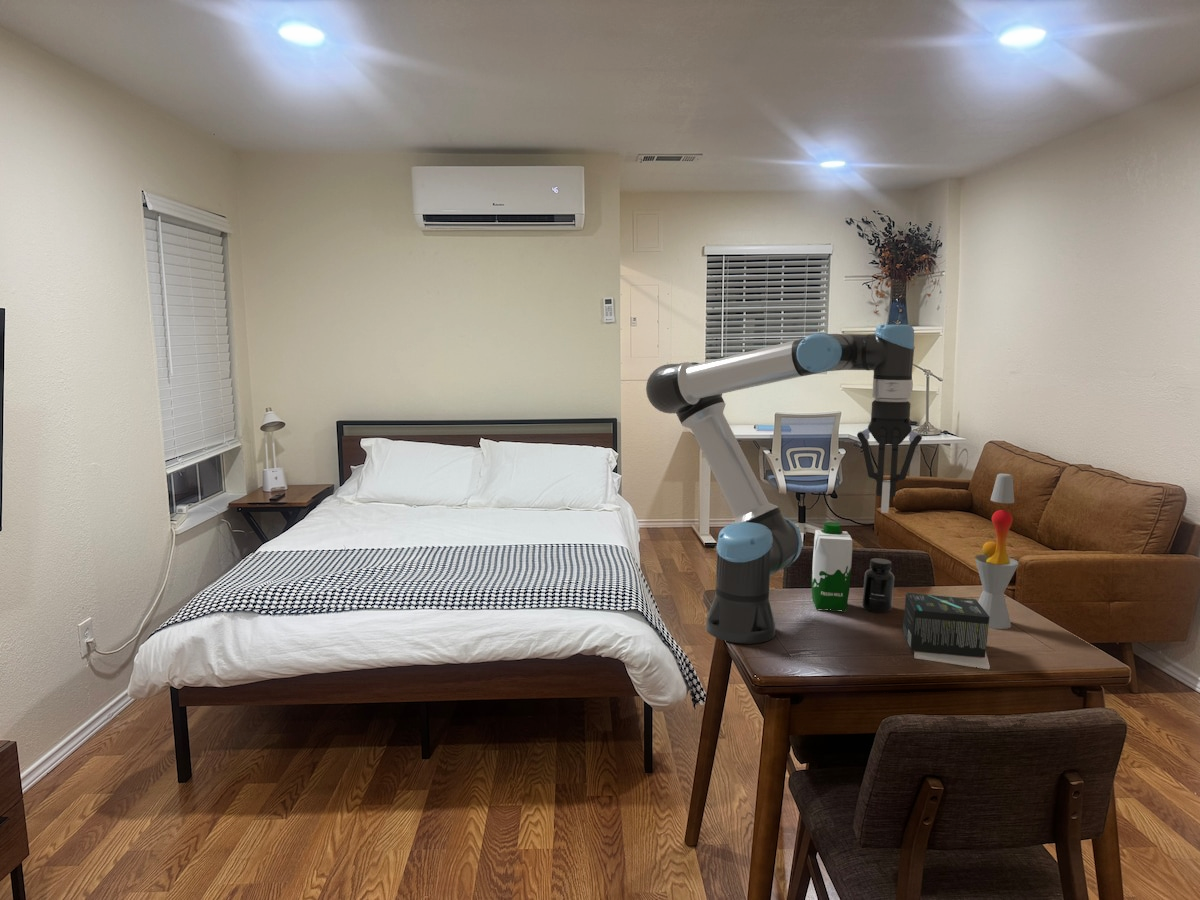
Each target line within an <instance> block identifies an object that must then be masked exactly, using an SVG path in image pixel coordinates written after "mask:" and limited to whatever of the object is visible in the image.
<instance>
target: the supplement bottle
mask: <svg viewBox="0 0 1200 900" xmlns="http://www.w3.org/2000/svg"><path fill="white" fill-rule="evenodd" d="M869 561H870V562H869V569H867V570H866V571H865V572H864V579H863V591H862V601H861V606H862V607H863V609H865V610H866V609H867V611H869V610H870V612H872V611H873V613H877V612H881V613H880V614H885V613H884V612H886V613H889V612H890V611H892V608H893V599H894V597H893V596H894V589H895V588H894V587H895V574H893V572H892V571H891V570H892V561H891V560H889V559H885V558H877V557H875V558H871V559H870V560H869Z"/></svg>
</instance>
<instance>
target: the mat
mask: <svg viewBox="0 0 1200 900" xmlns="http://www.w3.org/2000/svg"><path fill="white" fill-rule="evenodd" d="M987 654H988V653H987V652H986V653H985V657H972V656H962V655H953V654H943V653H932V652H921V651H913V657H914V658H913V659H915V660H917V659H918V660H924V661H931V662H938V663H943V664H950V665H958V666H962V667H963V666H965V667H970V668H976V667H977V668H978V669H982V670H983V669H984V670H989V669H990V668H991V666H990V663H989V661H990V660H989V658H988V655H987ZM977 668H976V669H977Z"/></svg>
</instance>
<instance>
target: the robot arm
mask: <svg viewBox="0 0 1200 900" xmlns="http://www.w3.org/2000/svg"><path fill="white" fill-rule="evenodd" d="M915 348H916V346H915V329H914V327H913V325H912V326H911V325H910V324H878V325H877V326H876V327H875V331H874V333H871V334H857V333H856V334H855V333H854V334H853V333H847V334H846V333H824V332H819V333H813V334H809V335H808V336H806V337H802V338H799V339H796V340H790V341H788V342H787V341H786V342H783V343H779V344H774V345H770V346H766V347H762V348H757V349H753V350H750V351H746V352H742V353H738V354H733V355H729V356H726V357H721V358H717V359H712V360H709V361H705V362H697V361H696V362H695V361H694V362H689V361H685V362H681V363H668V364H667V363H666V364H663V365H660V366H659V367H656V369H654V370H653V371H652V372H651V373H650V375H649V376H648V378H647V381H646V385H645V386H646V387H645V391H646V397H647V399H648V401H649V403H650V404H651V405H652V407H654V408H655V409H656V410H658V411H659V412H662V413H663V414H664V413H665V414H672V415H673V414H676V416H677V418H678V420H679V422H680V424H681V426H682V427H683V428H684V427H685V428H688V429H690V430H691V432H692V434H693V436H694V438H695V440H696V442H697V445H698V446H699V448H700V450H701V451H702V452H701V453H702V454H703V456H704V458H705V460H706V461H707V465H708V466H709V468H710V470H711V472H712V474H713V476H714V478H715V480H716V482H717V483H718V486H719V488H720V490H721V492H722V494H723V495H724V498H725V500H726V502H727V504H728V506H729V508H730V510H731V512H732V514H733V516H734V517H735V518H734V520H735V521H734V523H730V524H729V525H726V526H723V528H722V529H720V531H719V533H718V536H717V538H718V539H717V543H716V569H715V592H714V593H715V595H714V598H713V601H712V603H711V606H710V608H709V611H708V614H707V616H706V619H705V621H706V623H705V630H706V632H707V633H708V634H709V635H710V636H712V637H714V638H716V639H719V640H722V641H725V642H730V643H734V644H746V645H747V644H751V645H752V644H761V643H765V642H768V641H771V640H773V638H774V637H775V635H776V622H775V617H774V614H773V611H772V606H771V602H770V584H771V582H770V581H771V576H773V575H774V574H776V573H778V572H780V571H783V570H785V569H787V568H789V567H790V566H791V565H792V564H793V563H794V562H795V561H796V560H797V559H798V558H799V556H800V554H801V552H802V549H803V548H802V547H803V539H802V538H803V537H802V534H801V531H800V530H799V528H798V526H797V525H796V524H795V523H794V522H793V521H792V520H790V519H788V518H786V517H784V515H783V513H782V511H781V509H780V508H779V506H778V505H776V504H773V503H771V502H769V501H768V499H767V496H766V494H765V493H764V490H763V488H762V486H761V485H760V482H759V480H758V479H757V476H756V474H755V473H754V471H753V469H752V467H751V465H750V463H749V460H748V459H747V457H746V455H745V453H744V452H743V449H742V448H741V445H740V443H739V441H738V439H737V437H736V436H735V434H734V431H733V430H732V428H731V426H730V424H729V422H728V420H727V418H726V416H725V414H724V411H725V407H726V402H725V401H724V398H723V397H722V396H723V394H727V393H731V392H735V391H740V390H744V389H749V388H754V387H755V388H756V387H759V386H764V385H769V384H774V383H777V382H778V383H779V382H781V381H786V380H792V379H796V378H801V377H806V376H811V375H816V374H821V373H825V372H826V373H827V372H835V371H873V376H872V377H873V379H872V393H871V394H872V396H871V397H872V398H873V399H874V400H873V401H872V402H871V412H870V413H871V415H870V421H869V424H868V425H867V428H865V429H864V430H861V431H858V433H857V434H856V436H857V438H858V440H859V442H860V443H861V446H862V447H861V448H862V452H863V456H864V462H865V468H866V471H867V476H868V478H872V479H874V481H876V488H875V489H876V490H875V491H876V492H875V494H876V496H877V497H881V504H880V513H881V514H889V511H890V497H891V498H895V496H896V493H897V492H896V490H897V482H899V481H903V480H906V478H907V474H908V472H909V469H910V466H911V462H912V460H913V456H914V455H915V450H916V447H917V446H918V445H919V443H920V442H921V441H922V439H923V437H922V434H921V433H918V432H916V431H914V430H912V425H911V423H910V419H911V418H910V416H911V402H910V401H908V400H910V399H911V398H912V384H913V368H914V367H913V365H914V355H915V353H914V352H915ZM870 434H871V436H872V437H873V438H874V440H875V442H877V444H878V454H877V455H878V456H877V472H876V471H875V469H874V468H875V467H874V464H873V457H872V453H871V448H870V443H869V439H870ZM908 436H909V438H908V441H909V445H908V449H907V451H906V454H905V457H904V460H903V464H902V466H901V469H900V473H898V459H899V457H898V456H899V445H900V444H901V443H902V442H903V441H904V440H905V439H906V438H907V437H908ZM886 445H890V446H891V456H890V459H891V460H890V475H889V479H886V480H885V479H884V475H885V474H884V472H885V457H886V456H885V454H886Z"/></svg>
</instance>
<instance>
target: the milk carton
mask: <svg viewBox="0 0 1200 900" xmlns="http://www.w3.org/2000/svg"><path fill="white" fill-rule="evenodd" d="M812 552H813V553H812V564H811V565H812V570H811V598H812V599H813V600H812V602H814V603H813V605H814V604H815V605H814V607H815V610H816V609H828V610H830V609H831V610H842V611H846V612H847V609H848V608H847V607H848V602H849V593H850V588H851V587H850V586H851V576H852V575H851V574H852V573H851V572H852V563H853V562H852V560H853V539H852V536H851V535H850V534H849V533H848V531H842V524H840V523H838V522H833V521H830V522H829V521H827V522H824V523H823V529H815V530H814V538H813V551H812ZM842 611H841V612H842Z"/></svg>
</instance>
